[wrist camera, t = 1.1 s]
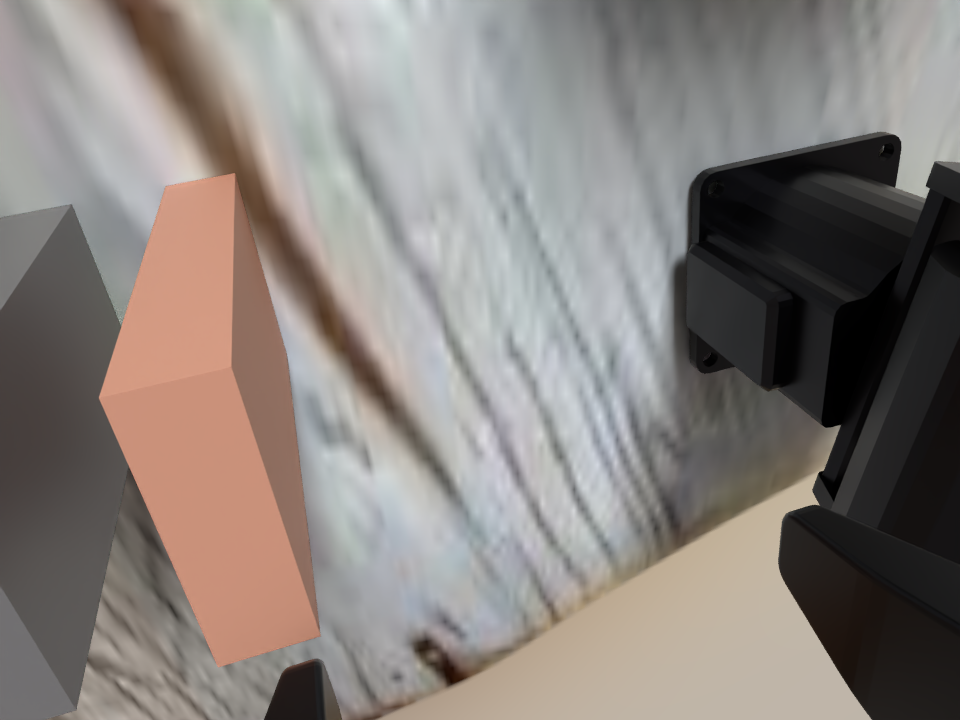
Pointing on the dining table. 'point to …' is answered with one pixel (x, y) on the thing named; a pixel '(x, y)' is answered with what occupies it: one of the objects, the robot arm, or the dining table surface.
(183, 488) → the domino
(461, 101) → the dining table surface
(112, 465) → the domino
